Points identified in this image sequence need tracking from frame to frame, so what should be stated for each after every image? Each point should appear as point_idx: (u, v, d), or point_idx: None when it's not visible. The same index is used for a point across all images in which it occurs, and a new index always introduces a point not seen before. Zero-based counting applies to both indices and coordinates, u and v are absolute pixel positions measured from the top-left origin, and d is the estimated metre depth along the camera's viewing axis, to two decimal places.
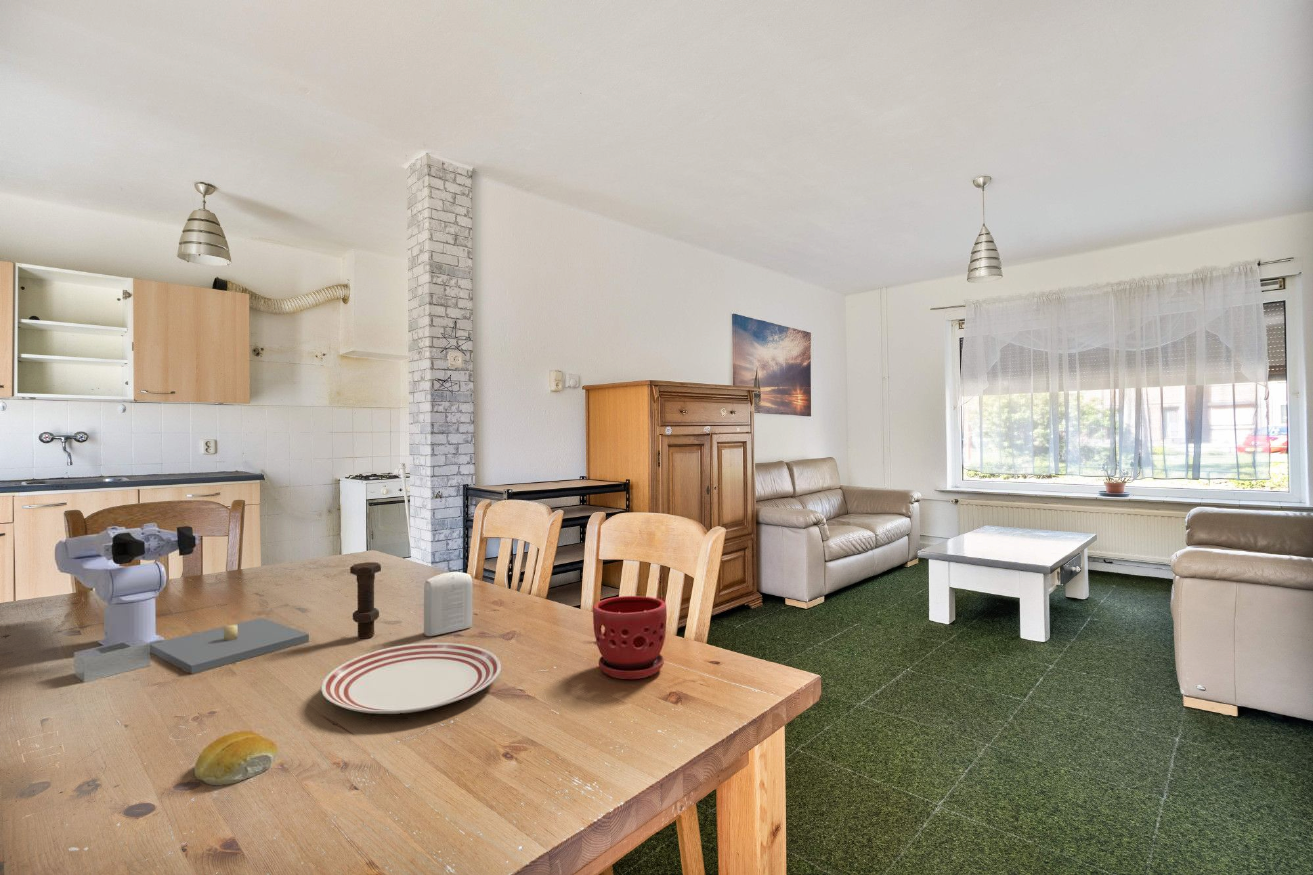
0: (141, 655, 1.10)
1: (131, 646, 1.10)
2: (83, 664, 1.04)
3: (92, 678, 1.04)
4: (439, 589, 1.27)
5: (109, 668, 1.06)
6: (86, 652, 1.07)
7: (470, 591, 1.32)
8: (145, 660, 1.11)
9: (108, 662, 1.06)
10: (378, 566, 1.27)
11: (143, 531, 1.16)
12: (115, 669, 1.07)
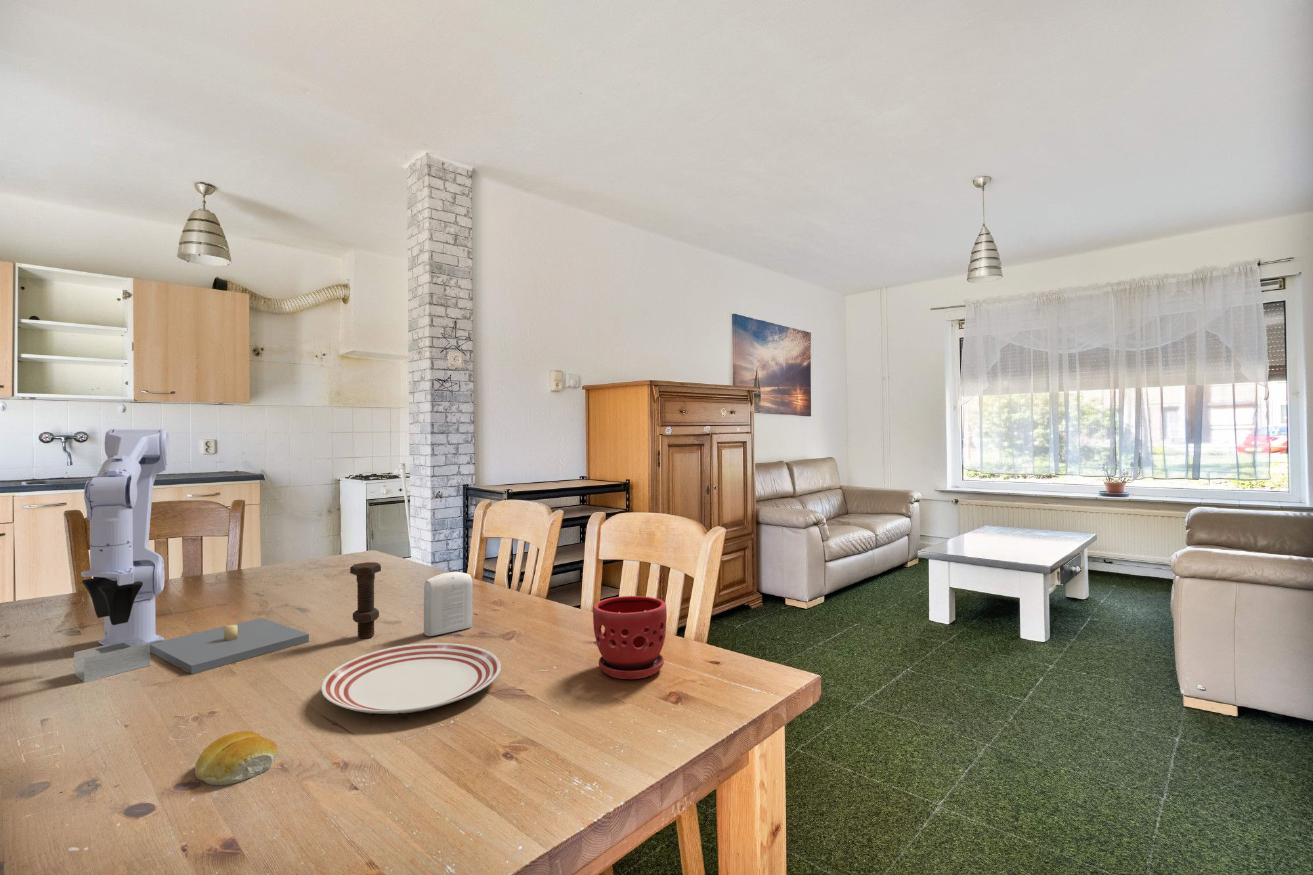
0: (141, 655, 1.10)
1: (131, 646, 1.10)
2: (83, 664, 1.04)
3: (92, 678, 1.04)
4: (439, 589, 1.27)
5: (109, 668, 1.06)
6: (86, 652, 1.07)
7: (470, 591, 1.32)
8: (145, 660, 1.11)
9: (108, 662, 1.06)
10: (378, 566, 1.27)
11: None
12: (115, 669, 1.07)
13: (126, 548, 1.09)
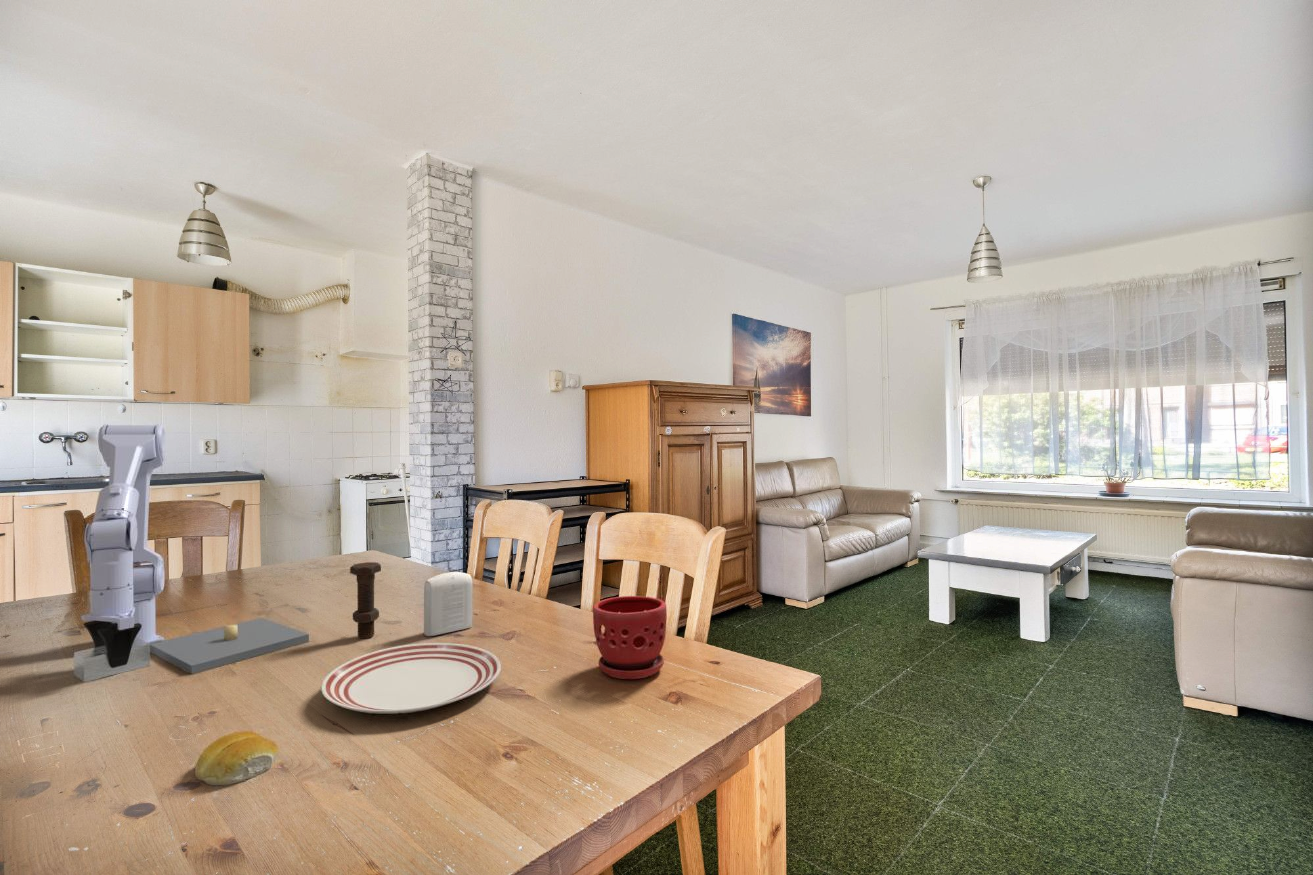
0: (141, 655, 1.10)
1: None
2: (83, 664, 1.04)
3: (92, 678, 1.04)
4: (439, 589, 1.27)
5: (109, 668, 1.06)
6: (86, 652, 1.07)
7: (470, 591, 1.32)
8: (145, 660, 1.11)
9: (108, 662, 1.06)
10: (378, 566, 1.27)
11: None
12: (115, 669, 1.07)
13: (126, 591, 1.09)
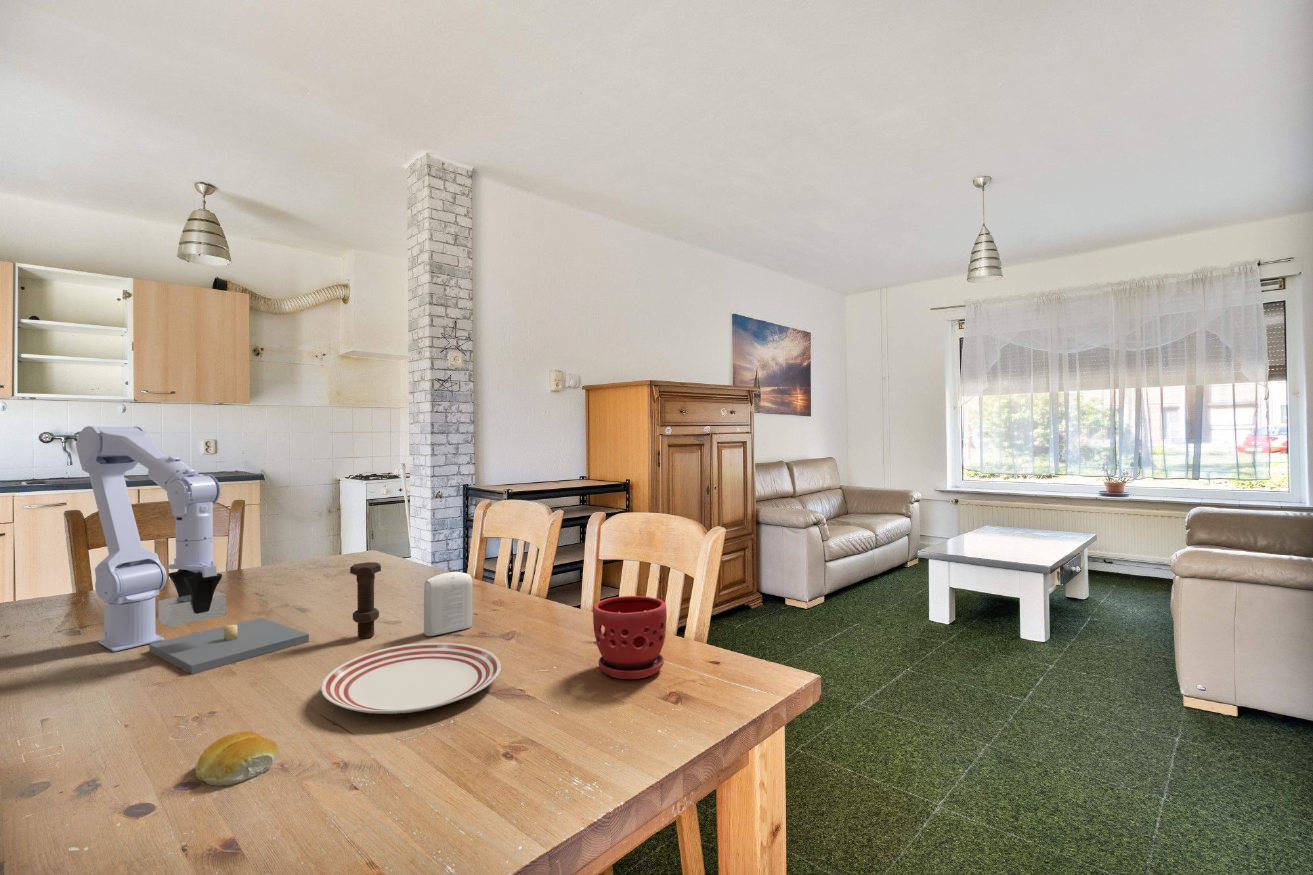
0: (218, 605, 1.18)
1: None
2: (168, 610, 1.12)
3: (176, 624, 1.12)
4: (439, 589, 1.27)
5: (191, 616, 1.14)
6: (170, 600, 1.14)
7: (470, 591, 1.32)
8: (222, 610, 1.18)
9: (190, 610, 1.14)
10: (378, 566, 1.27)
11: None
12: (196, 617, 1.15)
13: (208, 543, 1.17)
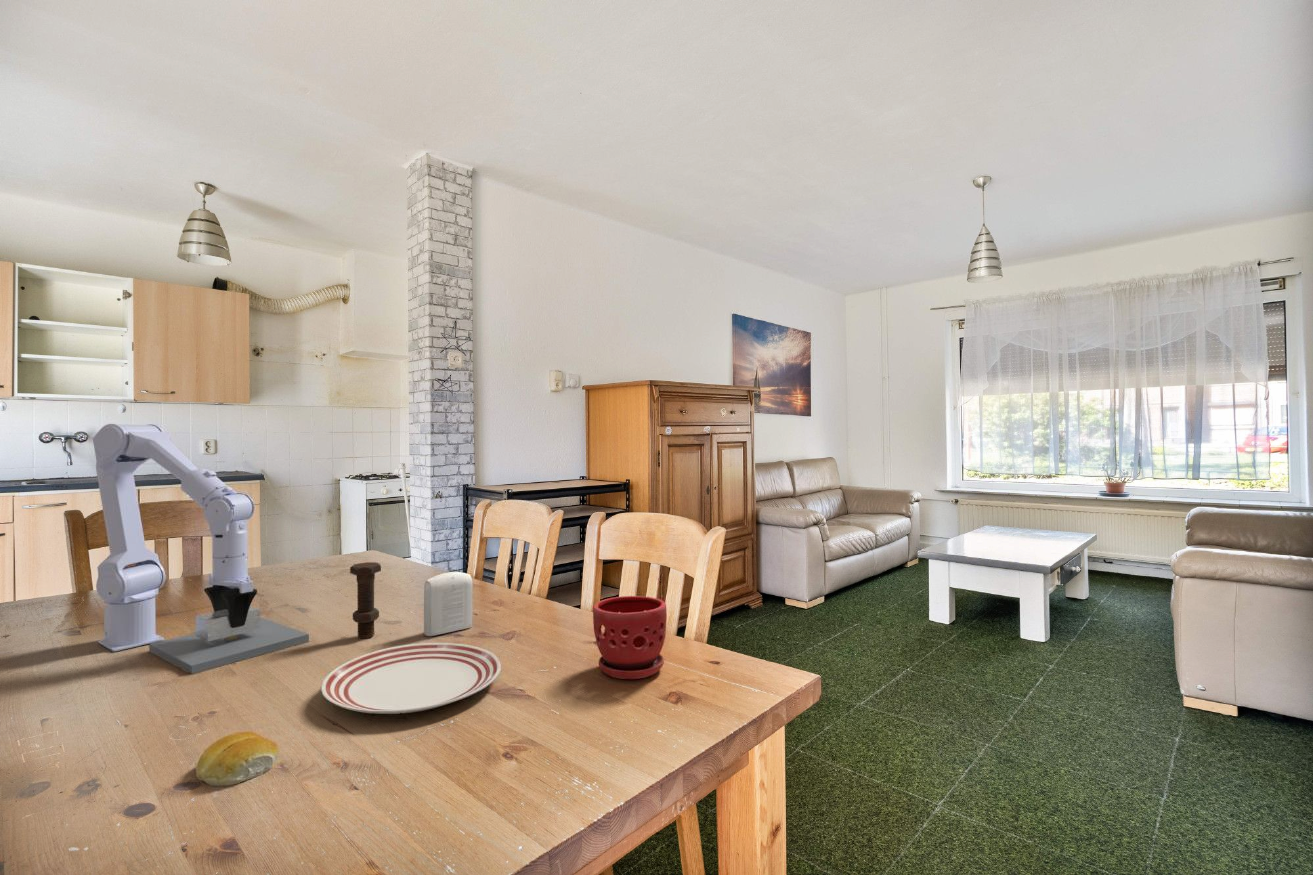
0: (253, 620, 1.22)
1: None
2: (206, 625, 1.15)
3: (214, 638, 1.16)
4: (439, 589, 1.27)
5: (227, 630, 1.18)
6: (206, 615, 1.18)
7: (470, 591, 1.32)
8: (256, 624, 1.22)
9: (226, 624, 1.18)
10: (378, 566, 1.27)
11: None
12: (232, 631, 1.19)
13: (243, 559, 1.21)
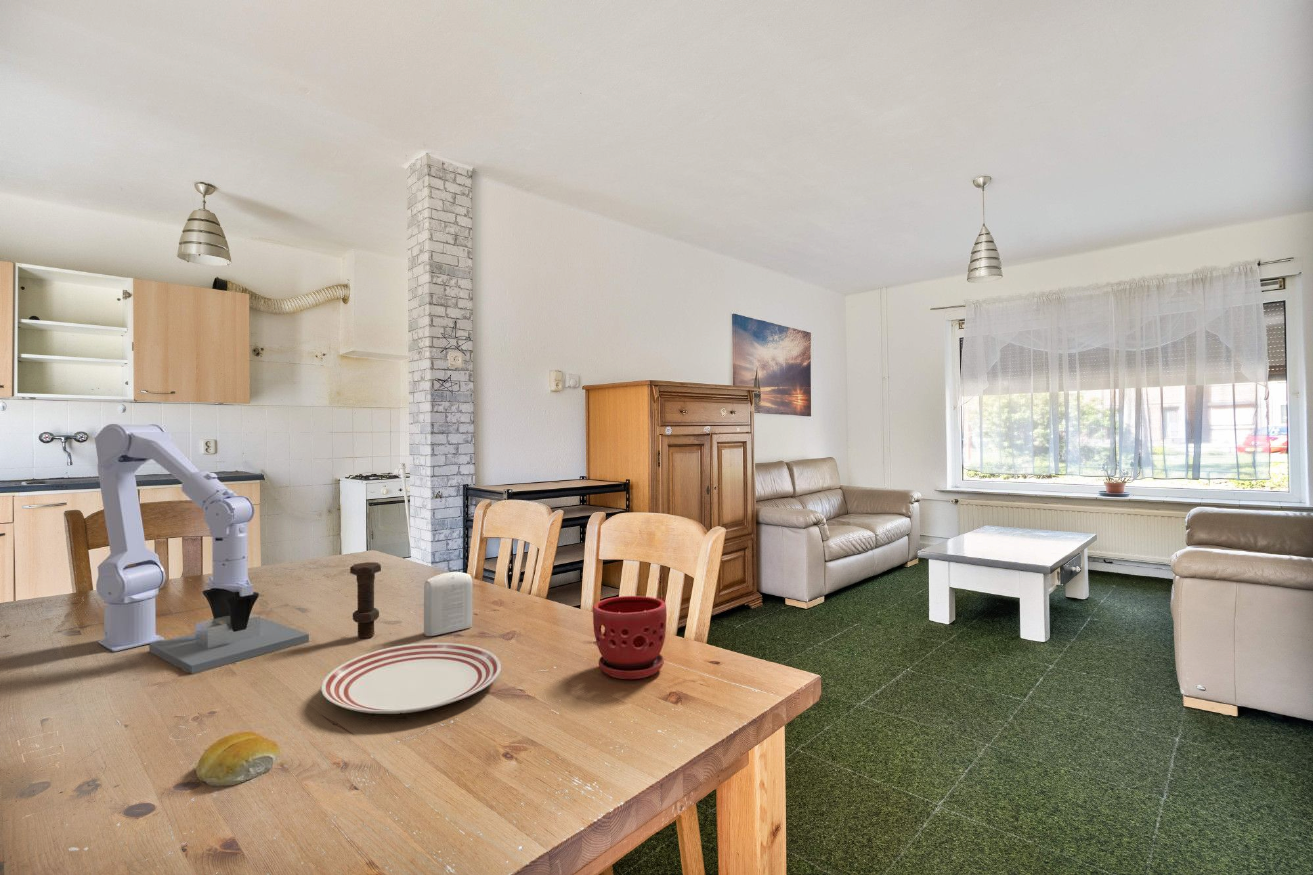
0: (253, 626, 1.22)
1: None
2: (206, 633, 1.15)
3: (214, 645, 1.16)
4: (439, 589, 1.27)
5: (227, 637, 1.18)
6: (206, 623, 1.18)
7: (470, 591, 1.32)
8: (256, 631, 1.22)
9: (226, 631, 1.18)
10: (378, 566, 1.27)
11: None
12: (232, 638, 1.19)
13: (243, 562, 1.21)
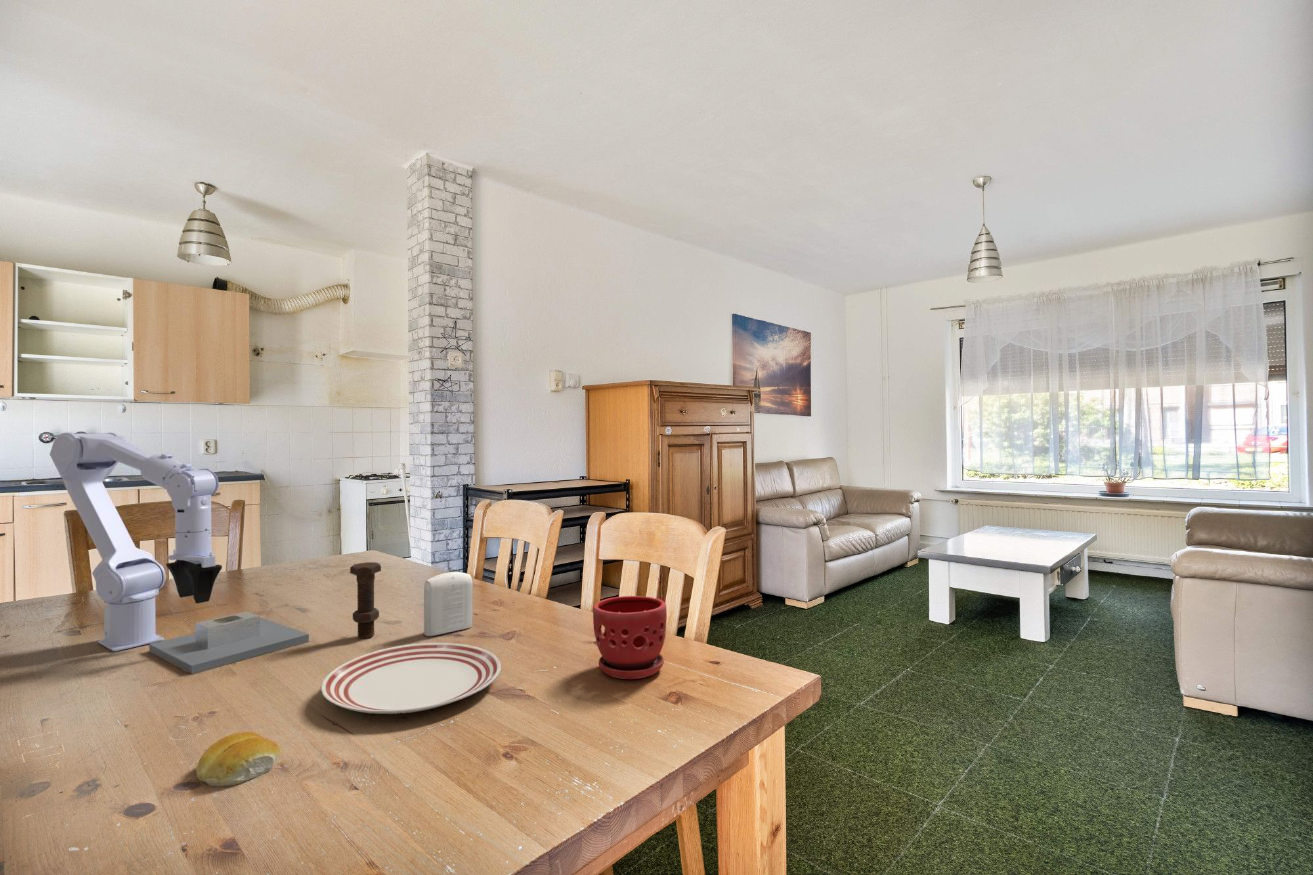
0: (253, 626, 1.22)
1: (244, 618, 1.21)
2: (206, 633, 1.15)
3: (214, 645, 1.16)
4: (439, 589, 1.27)
5: (227, 637, 1.18)
6: (206, 623, 1.18)
7: (470, 591, 1.32)
8: (256, 631, 1.22)
9: (226, 631, 1.18)
10: (378, 566, 1.27)
11: None
12: (232, 638, 1.19)
13: (206, 534, 1.20)
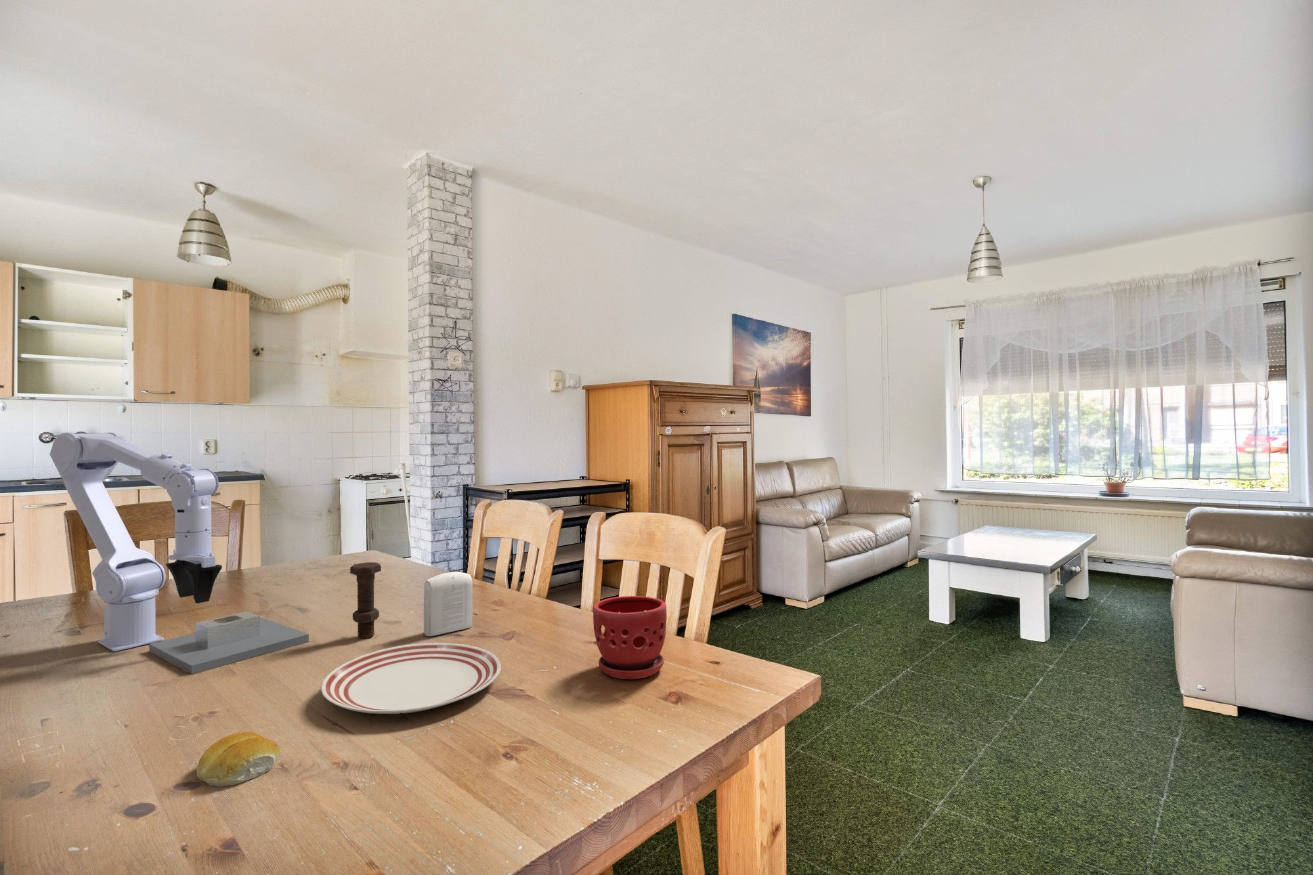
0: (253, 626, 1.22)
1: (244, 618, 1.21)
2: (206, 633, 1.15)
3: (214, 645, 1.16)
4: (439, 589, 1.27)
5: (227, 637, 1.18)
6: (206, 623, 1.18)
7: (470, 591, 1.32)
8: (256, 631, 1.22)
9: (226, 631, 1.18)
10: (378, 566, 1.27)
11: None
12: (232, 638, 1.19)
13: (206, 534, 1.20)
